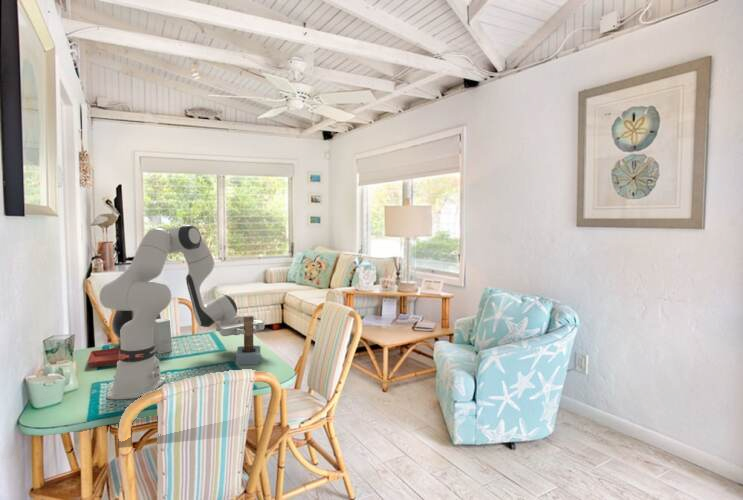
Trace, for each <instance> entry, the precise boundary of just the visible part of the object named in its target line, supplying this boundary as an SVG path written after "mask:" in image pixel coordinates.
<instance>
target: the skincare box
mask: <svg viewBox="0 0 743 500" xmlns="http://www.w3.org/2000/svg"><path fill="white" fill-rule="evenodd" d="M153 342H154V343H153V344H154V345H155V352H157V353H158V354H164V353H169V352H173V346H172V331H171V319H168V318H166V317H163V318H161V319H156V320H155V323H154V332H153Z"/></svg>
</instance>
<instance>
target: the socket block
mask: <svg viewBox="0 0 743 500" xmlns="http://www.w3.org/2000/svg"><path fill="white" fill-rule="evenodd" d="M235 364H236V365H235V366H242V365H244V366H245V365H258V364H261V345H253V352H249V353H244V345H243V346H242V345H241V346H237V350H236V356H235Z"/></svg>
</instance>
